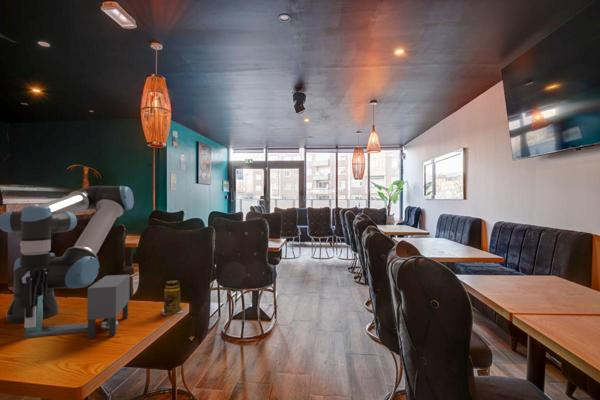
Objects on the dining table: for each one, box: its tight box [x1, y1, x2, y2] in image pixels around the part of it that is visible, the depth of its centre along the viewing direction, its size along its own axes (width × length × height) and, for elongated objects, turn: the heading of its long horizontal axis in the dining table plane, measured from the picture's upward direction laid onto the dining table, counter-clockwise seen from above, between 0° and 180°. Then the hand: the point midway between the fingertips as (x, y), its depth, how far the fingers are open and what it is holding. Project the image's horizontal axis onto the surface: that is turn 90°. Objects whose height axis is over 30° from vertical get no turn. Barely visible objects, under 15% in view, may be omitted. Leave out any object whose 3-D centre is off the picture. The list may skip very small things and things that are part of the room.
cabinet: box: [86, 274, 131, 340], centre depth 107 cm, size 18×8×16 cm, turn 17°
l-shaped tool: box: [23, 295, 88, 339], centre depth 102 cm, size 18×5×12 cm, turn 107°
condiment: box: [161, 280, 183, 316], centre depth 124 cm, size 7×8×12 cm
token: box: [100, 319, 119, 331], centre depth 106 cm, size 5×5×2 cm
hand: (33, 324), depth 100 cm, fingers open, 3 cm apart
